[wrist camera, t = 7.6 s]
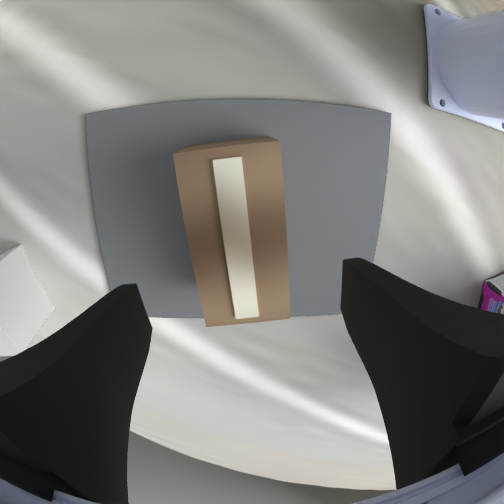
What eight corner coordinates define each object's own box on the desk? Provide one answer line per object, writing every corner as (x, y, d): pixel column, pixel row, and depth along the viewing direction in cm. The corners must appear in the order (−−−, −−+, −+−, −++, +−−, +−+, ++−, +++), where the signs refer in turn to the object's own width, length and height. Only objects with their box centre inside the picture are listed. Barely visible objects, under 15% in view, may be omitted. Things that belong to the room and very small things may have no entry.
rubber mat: (387, 112, 15) (391, 113, 15) (359, 308, 21) (361, 312, 21) (89, 114, 14) (85, 114, 14) (118, 311, 20) (116, 315, 20)
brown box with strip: (280, 280, 19) (291, 320, 15) (211, 287, 19) (206, 329, 15) (269, 136, 15) (280, 141, 12) (187, 146, 15) (171, 154, 12)
